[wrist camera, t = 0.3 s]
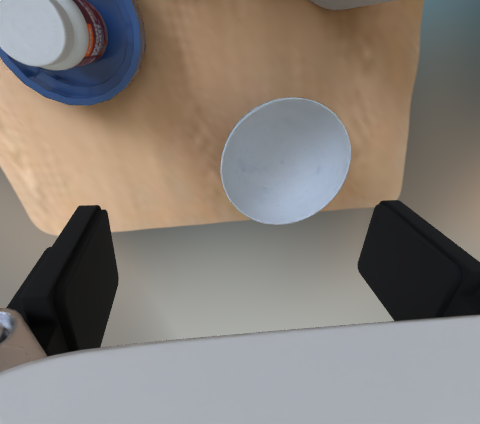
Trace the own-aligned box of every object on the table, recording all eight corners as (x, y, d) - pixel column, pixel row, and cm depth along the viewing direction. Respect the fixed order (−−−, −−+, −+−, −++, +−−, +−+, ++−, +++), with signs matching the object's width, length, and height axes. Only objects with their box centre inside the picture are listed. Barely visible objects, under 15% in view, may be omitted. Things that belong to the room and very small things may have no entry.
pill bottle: (118, 56, 33) (89, 64, 24) (62, 70, 33) (10, 84, 23) (92, -13, 30) (46, -37, 20) (31, 3, 30) (-45, -14, 20)
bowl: (-15, -61, 28) (-44, -75, 24) (139, -44, 30) (133, -55, 26) (25, 96, 34) (7, 102, 31) (150, 101, 36) (146, 107, 33)
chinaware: (205, 98, 37) (208, 111, 30) (325, 77, 38) (354, 86, 31) (225, 206, 45) (231, 235, 38) (325, 186, 46) (348, 212, 39)
